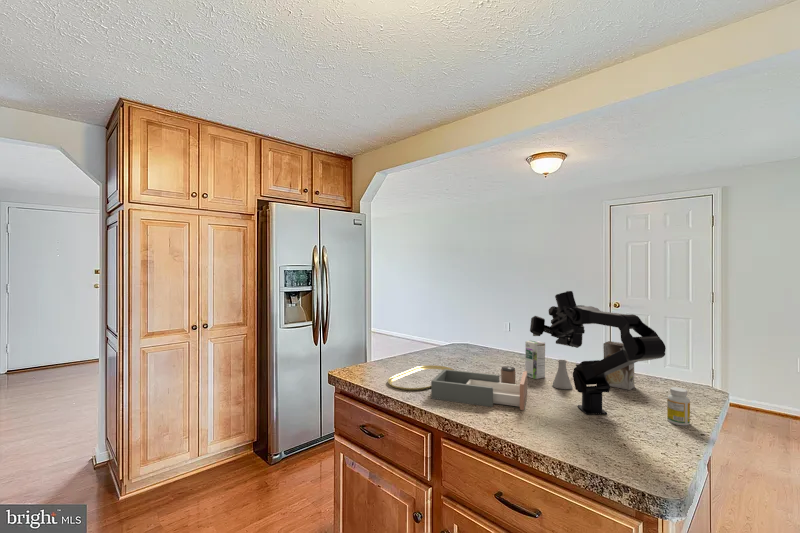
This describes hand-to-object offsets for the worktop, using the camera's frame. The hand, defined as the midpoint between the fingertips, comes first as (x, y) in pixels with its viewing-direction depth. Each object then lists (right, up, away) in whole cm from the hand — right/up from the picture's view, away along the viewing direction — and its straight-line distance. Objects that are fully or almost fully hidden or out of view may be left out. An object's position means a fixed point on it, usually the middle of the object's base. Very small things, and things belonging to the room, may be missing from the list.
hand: (544, 338), depth 145 cm
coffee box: (+28, -18, -1) cm, 33 cm away
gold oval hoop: (-46, -18, +9) cm, 50 cm away
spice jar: (-14, -18, -2) cm, 23 cm away
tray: (-22, -18, -15) cm, 32 cm away
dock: (-32, -18, -11) cm, 38 cm away
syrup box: (0, -18, +11) cm, 21 cm away
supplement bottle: (+26, -18, -35) cm, 47 cm away
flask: (+6, -18, -2) cm, 19 cm away
